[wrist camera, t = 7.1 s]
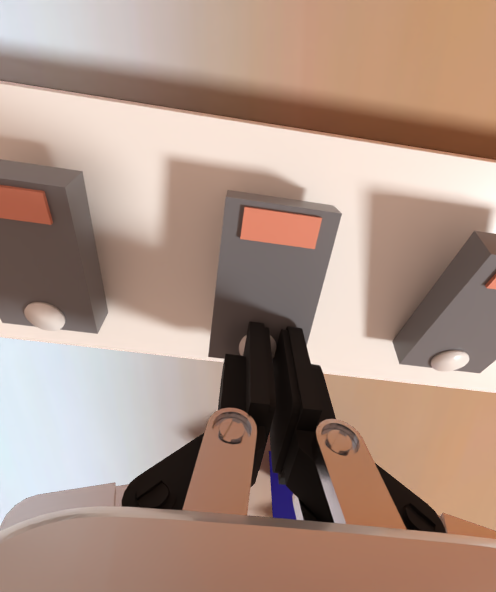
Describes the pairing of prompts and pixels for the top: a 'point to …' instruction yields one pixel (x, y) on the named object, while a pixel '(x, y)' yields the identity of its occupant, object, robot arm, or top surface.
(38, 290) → the grey rectangular block
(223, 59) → the top surface
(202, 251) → the power strip
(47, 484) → the top surface
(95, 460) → the top surface
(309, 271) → the block
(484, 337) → the grey flat block
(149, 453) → the top surface
